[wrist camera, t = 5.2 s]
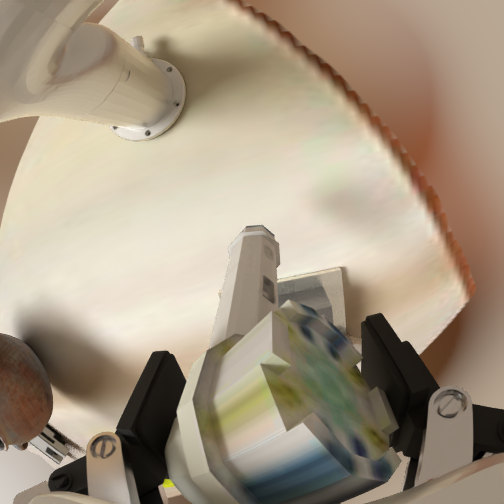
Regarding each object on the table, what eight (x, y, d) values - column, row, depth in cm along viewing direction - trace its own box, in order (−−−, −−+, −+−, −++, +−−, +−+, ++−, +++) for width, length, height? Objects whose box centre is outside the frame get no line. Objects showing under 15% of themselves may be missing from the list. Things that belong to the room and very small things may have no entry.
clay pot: (92, 390, 51) (37, 484, 22) (46, 397, 55) (0, 464, 27) (26, 297, 44) (-63, 372, 16) (-6, 324, 48) (-69, 381, 20)
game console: (65, 453, 69) (57, 466, 61) (5, 403, 63) (-4, 415, 55) (73, 442, 63) (64, 458, 55) (5, 384, 58) (-6, 397, 50)
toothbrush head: (221, 243, 28) (96, 505, 4) (265, 191, 26) (247, 469, 2) (261, 275, 29) (242, 551, 5) (306, 227, 27) (428, 499, 3)
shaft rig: (182, 296, 42) (169, 319, 35) (376, 258, 39) (395, 276, 32) (214, 380, 47) (208, 407, 40) (377, 350, 44) (390, 375, 37)
